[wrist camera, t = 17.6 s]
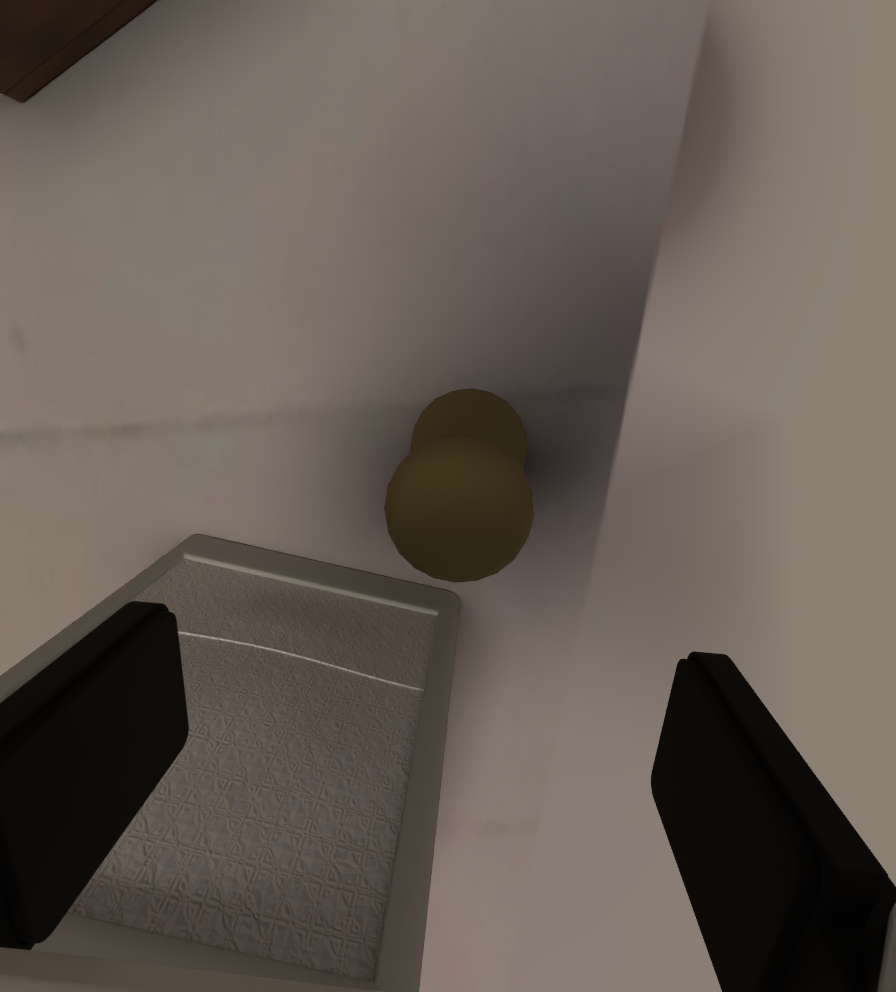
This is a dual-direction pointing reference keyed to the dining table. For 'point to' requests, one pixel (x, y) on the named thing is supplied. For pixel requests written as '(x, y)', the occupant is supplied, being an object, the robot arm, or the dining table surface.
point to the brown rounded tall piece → (462, 489)
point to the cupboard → (53, 37)
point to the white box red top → (280, 774)
